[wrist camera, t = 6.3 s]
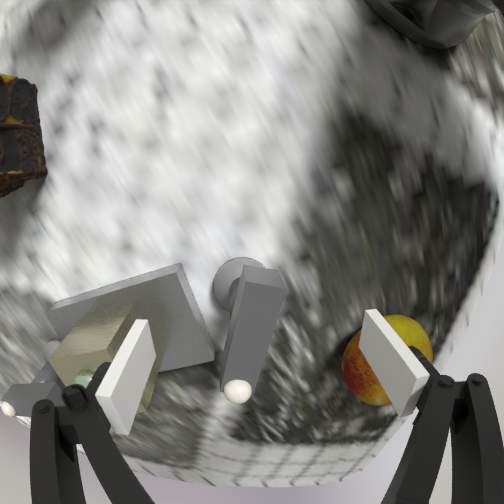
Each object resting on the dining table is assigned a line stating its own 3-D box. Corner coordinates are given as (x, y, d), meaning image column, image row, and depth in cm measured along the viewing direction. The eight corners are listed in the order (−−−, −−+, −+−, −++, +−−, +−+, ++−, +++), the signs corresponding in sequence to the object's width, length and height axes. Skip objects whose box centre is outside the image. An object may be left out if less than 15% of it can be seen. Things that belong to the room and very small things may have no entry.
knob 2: (223, 235, 24) (218, 283, 14) (281, 246, 25) (315, 300, 15) (206, 322, 26) (196, 403, 16) (258, 331, 27) (272, 412, 17)
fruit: (360, 384, 30) (386, 430, 23) (315, 350, 28) (338, 403, 21) (419, 329, 29) (456, 366, 21) (382, 284, 27) (426, 322, 19)
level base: (180, 262, 24) (150, 325, 14) (214, 345, 27) (210, 429, 17) (56, 301, 25) (-1, 357, 14) (94, 369, 27) (59, 436, 17)
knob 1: (75, 333, 26) (29, 395, 16) (97, 369, 27) (63, 435, 17) (30, 343, 26) (-13, 394, 16) (50, 375, 27) (15, 430, 17)
